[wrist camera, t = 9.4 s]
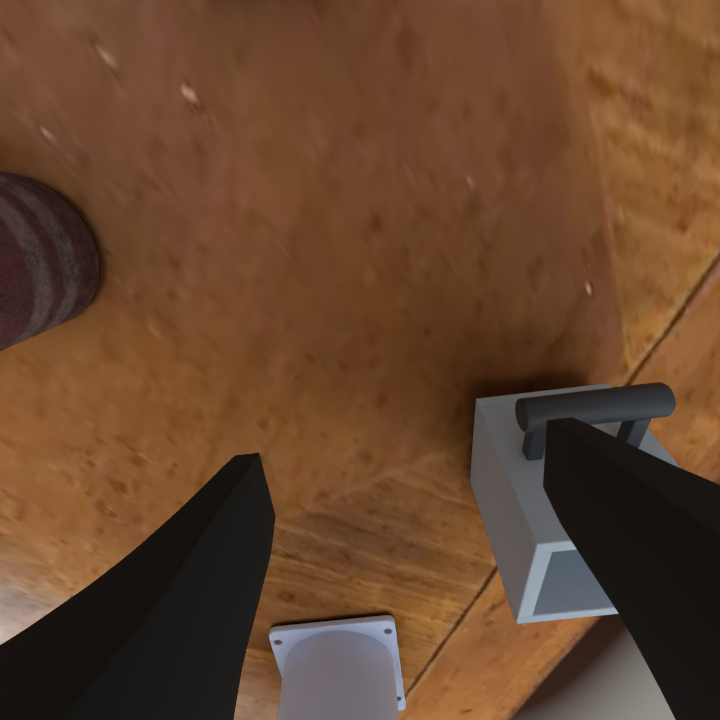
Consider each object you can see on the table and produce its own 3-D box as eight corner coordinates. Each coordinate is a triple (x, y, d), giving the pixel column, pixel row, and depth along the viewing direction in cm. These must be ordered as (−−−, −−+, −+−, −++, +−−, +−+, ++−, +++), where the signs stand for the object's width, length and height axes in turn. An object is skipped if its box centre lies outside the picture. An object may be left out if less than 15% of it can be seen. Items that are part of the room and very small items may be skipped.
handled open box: (666, 609, 16) (773, 466, 11) (515, 624, 16) (551, 490, 11) (581, 468, 22) (625, 330, 17) (469, 480, 22) (479, 347, 17)
